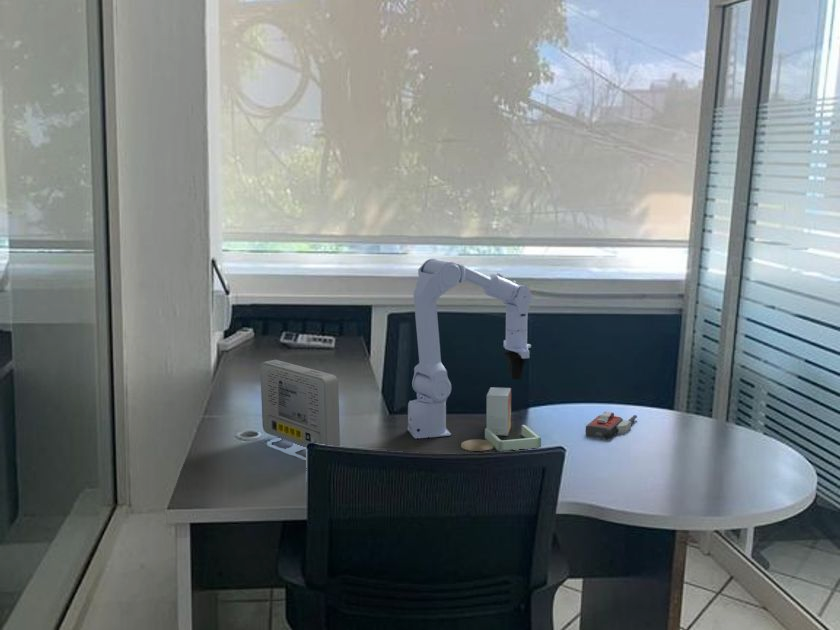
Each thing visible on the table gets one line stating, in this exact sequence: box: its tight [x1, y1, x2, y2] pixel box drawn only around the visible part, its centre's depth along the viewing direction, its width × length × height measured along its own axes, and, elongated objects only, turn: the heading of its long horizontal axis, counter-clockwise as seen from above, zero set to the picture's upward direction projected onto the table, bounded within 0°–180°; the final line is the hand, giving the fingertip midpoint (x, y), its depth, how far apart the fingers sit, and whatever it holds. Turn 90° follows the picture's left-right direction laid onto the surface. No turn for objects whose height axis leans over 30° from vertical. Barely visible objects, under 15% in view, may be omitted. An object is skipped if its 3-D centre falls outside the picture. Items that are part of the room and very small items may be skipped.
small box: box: [485, 386, 512, 436], centre depth 221 cm, size 8×6×10 cm
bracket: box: [484, 424, 542, 452], centre depth 212 cm, size 11×11×2 cm
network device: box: [259, 359, 341, 447], centre depth 208 cm, size 26×9×20 cm, turn 45°
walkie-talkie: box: [585, 411, 638, 440], centre depth 223 cm, size 9×4×20 cm
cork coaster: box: [460, 439, 495, 452], centre depth 210 cm, size 8×8×1 cm
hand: (515, 378), depth 233 cm, fingers closed
